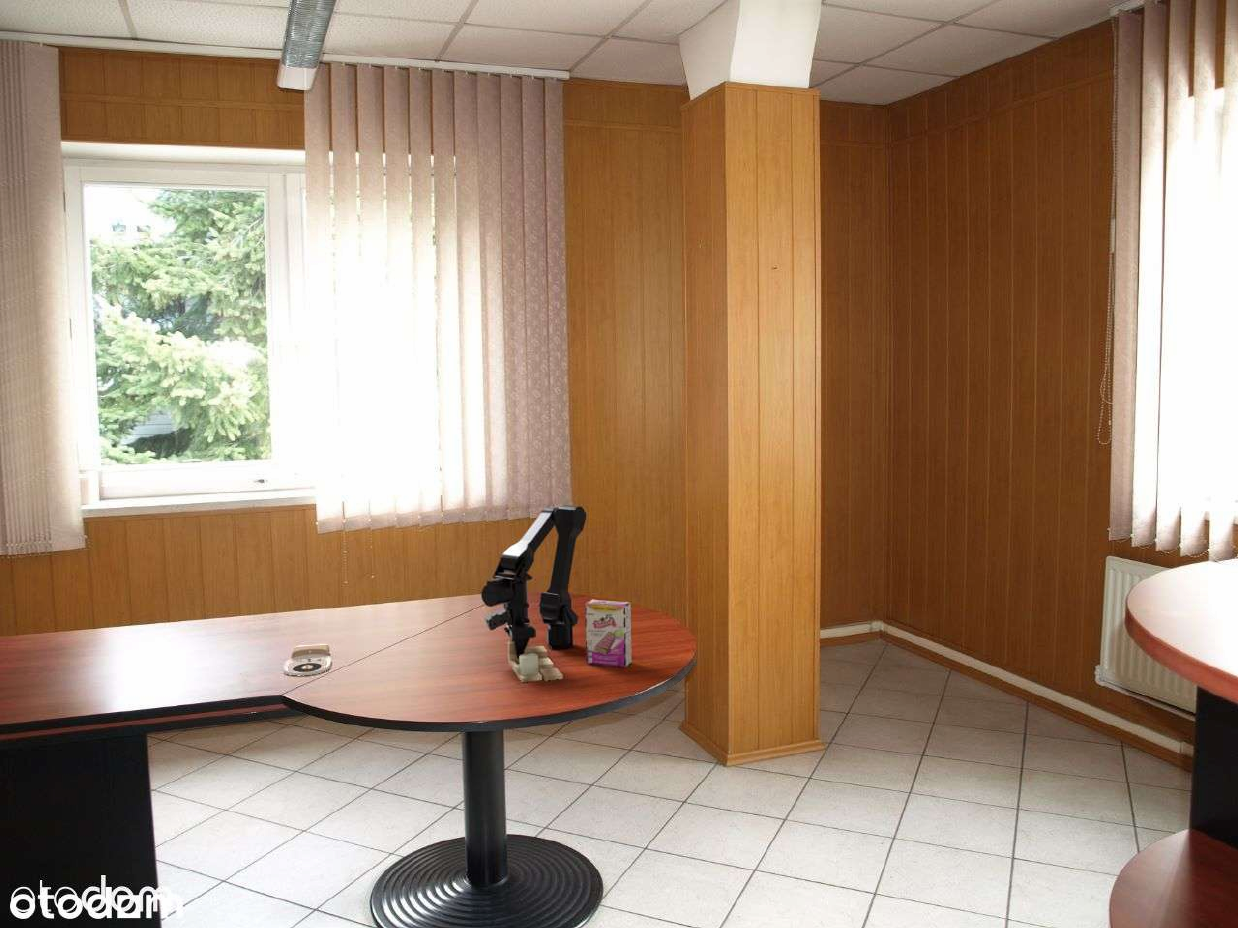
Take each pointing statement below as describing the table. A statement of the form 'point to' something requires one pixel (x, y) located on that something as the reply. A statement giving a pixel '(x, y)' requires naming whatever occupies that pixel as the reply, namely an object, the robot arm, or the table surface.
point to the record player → (309, 659)
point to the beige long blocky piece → (513, 660)
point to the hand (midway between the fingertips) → (518, 656)
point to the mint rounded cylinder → (528, 664)
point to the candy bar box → (608, 633)
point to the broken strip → (545, 664)
